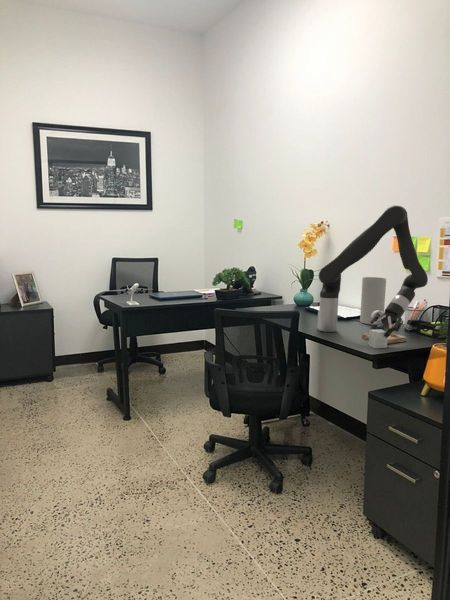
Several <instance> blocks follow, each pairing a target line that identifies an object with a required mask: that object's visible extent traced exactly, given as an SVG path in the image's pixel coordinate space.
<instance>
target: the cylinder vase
mask: <svg viewBox="0 0 450 600" xmlns="http://www.w3.org/2000/svg"><path fill="white" fill-rule="evenodd" d="M361 279H362V280H361V283H362V284H361V298H360V314H359V316H360V317H359V323H362V324H364V325H369V326H371V325H372V324H371V319H370V318H371V314H372V313H373V312H374V311H376V310H379V311H383V312H384V313H385V305H386V304H385V303H386V302H385V301H386V290H387V278H385V277H374V276H366V277H365V276H364V277H362V278H361ZM377 313H379V312H377ZM377 313H375V314H374V317H375V316H376V314H377ZM380 323H381V321H380ZM377 324H379V323H377ZM377 324H376V325H377Z"/></svg>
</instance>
